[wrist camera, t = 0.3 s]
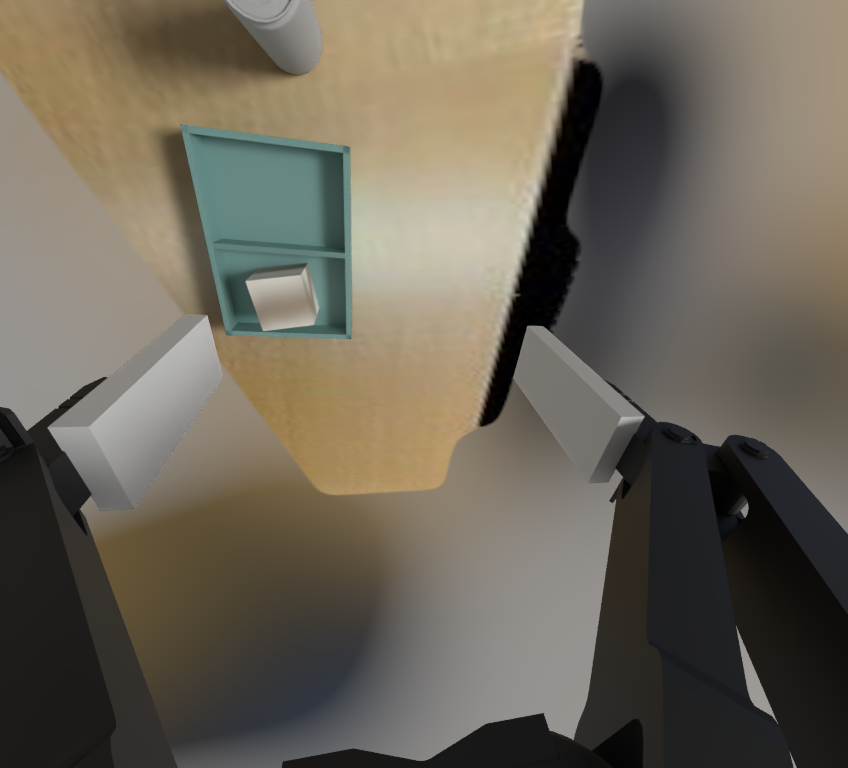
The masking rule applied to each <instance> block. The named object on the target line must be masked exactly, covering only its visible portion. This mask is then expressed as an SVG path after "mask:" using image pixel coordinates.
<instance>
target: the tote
mask: <svg viewBox="0 0 848 768" xmlns="http://www.w3.org/2000/svg"><path fill="white" fill-rule="evenodd" d="M180 126H181V130H182V135H183V140H184V144H185V149H186V153H187V158H188V162H189V167H190V171H191V176H192V180H193V185H194V190H195V194H196V199H197V203H198V208H199V212H200V217H201V221H202V226H203V231H204V235H205V240H206V244H207V249H208V253H209V258H210V262H211V267H212V272H213V276H214V281H215V285H216V290H217V294H218V299H219V303H220V308H221V313H222V317H223V322H224V326H225V331H226V335H237V336H270V337H302V338H334V339H351V334H352V270H351V164H350V147H348V146H341V145H333V144H326V143H318V142H310V141H303V140H295V139H288V138H280V137H273V136H265V135H257V134H250V133H242V132H235V131H227V130H219V129H212V128H204V127H197V126H189V125H182V124H180ZM302 263H308V265H309V269H310V273H311V277H312V281H313V285H314V289H315V293H316V297H317V301H318V305H319V310H318V314H317V317H316V320H315V323H314V325H310V326H301V327H293V328H285V329H277V330H269V331H263V329H262V327H261V324H260V321H259V318H258V315H257V313H256V310H255V307H254V304H253V301H252V299H251V296H250V293H249V290H248V287H247V285H246V282H245V281H246V280H247V279H248V278H249V277H250V276H251V275H252V274H253V273H255V272H256V271H257V270H258V269H259V268H264V267H273V266H283V265H292V264H302Z"/></svg>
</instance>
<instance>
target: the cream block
mask: <svg viewBox="0 0 848 768" xmlns="http://www.w3.org/2000/svg"><path fill="white" fill-rule="evenodd" d="M245 282H246V285H247V287H248V290H249V293H250V296H251V299H252V301H253V304H254V307H255V310H256V313H257V315H258V318H259V321H260V324H261V327H262V329H263V331H269V330H277V329H285V328H293V327H301V326H310V325H314V323H315V320H316V317H317V314H318V310H319V305H318V301H317V297H316V293H315V289H314V285H313V281H312V277H311V273H310V269H309V265H308V263H302V264H292V265H283V266H273V267H264V268H259V269H258V270H257V271H256V272H255V273H253V274H252V275H251V276H250V277H249V278H248V279H247V280H246V281H245Z"/></svg>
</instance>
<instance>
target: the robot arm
mask: <svg viewBox="0 0 848 768" xmlns="http://www.w3.org/2000/svg"><path fill="white" fill-rule="evenodd" d="M222 378H223V375H222V371H221V367H220V363H219V359H218V355H217V351H216V347H215V344H214V340H213V336H212V332H211V328H210V324H209V320H208V316H207V315H190V314H185V315H184V316H182V317H181V318H180V319H179V320H178V321H176V322H175V323H174V324H173V325H171V326H170V327H169V328H168V329H167V330H165V331H164V332H163V333H162V334H161V335H159V336H158V337H157V338H156V339H154V340H153V341H152V342H151V343H150V344H149V345H147V346H146V347H145V348H143V349H142V350H141V351H140V352H139V353H137V354H136V355H135V356H134V357H132V358H131V359H130V360H129V361H128V362H126V363H125V364H124V365H123V366H122V367H120V368H119V369H118V370H117V371H116V372H114V373H113V374H112V375H111V376H109V377H103V378H101V379H99V380H97V381H94V382H93V383H90V384H88V385H86V386H84V387H83V388H81V389H80V390H79V391H78V392H76V393H75V394H74V395H72V396H71V397H70V399H68V400H66V401H65V402H63V403H62V404H61V405H60V406H59V408H58V409H55V410H53V411H52V412H51V413H49V414H48V415H47V416H45V417H44V418H43V419H42V420H40V421H39V422H38V423H37V424H35V425H34V426H33V427H32V428H30V429H29V430H28V431H26V430H25V428H24V427H23V425H22V424H21V422H20V421H19V420H18V418H17V416H16V415H15V413H14V412H12V411H11V410H10V409H8V408H2V407H0V768H178V767H177V765H176V762H175V760H174V756H173V754H172V751H171V748H170V746H169V743H168V740H167V737H166V735H165V732H164V729H163V727H162V724H161V721H160V718H159V716H158V713H157V710H156V708H155V705H154V702H153V700H152V697H151V694H150V692H149V689H148V686H147V684H146V681H145V678H144V675H143V672H142V670H141V667H140V664H139V661H138V659H137V656H136V653H135V651H134V648H133V645H132V642H131V640H130V637H129V634H128V632H127V629H126V626H125V623H124V621H123V618H122V615H121V613H120V610H119V607H118V604H117V602H116V599H115V596H114V594H113V591H112V588H111V586H110V583H109V580H108V577H107V574H106V572H105V569H104V566H103V564H102V561H101V558H100V556H99V553H98V550H97V547H96V545H95V542H94V539H93V536H92V534H91V531H90V528H89V526H88V523H87V520H86V518H85V516H84V515H83V513H82V512H81V510H80V508H81V506H82V505H83V504H84V503H85V502H86V500H87V499H88V498H89V497H90V496H91V497H92V499H93V500H94V501H95V503H96V505H97V506H98V508H99V509H100V511H109V510H128V509H135V508H136V506H137V504H138V503H139V502H140V500H141V498H142V497H143V496H144V494H145V492H146V491H147V489H148V488H149V486H150V485H151V483H152V482H153V481H154V479H155V478H156V476H157V475H158V473H159V472H160V470H161V469H162V467H163V466H164V464H165V463H166V461H167V460H168V458H169V457H170V455H171V454H172V452H173V451H174V449H175V448H176V446H177V445H178V443H179V442H180V440H181V439H182V437H183V436H184V434H185V433H186V432H187V430H188V429H189V427H190V426H191V424H192V422H193V421H194V419H195V418H196V417H197V415H198V414H199V412H200V411H201V409H202V408H203V406H204V405H205V403H206V402H207V400H208V399H209V397H210V396H211V394H212V393H213V391H214V390H215V388H216V387H217V385H218V384H219V382H220V381H221V379H222ZM513 379H514V380H515V381H516V383H517V384H518V385H519V387H520V388H521V390H522V391H523V393H524V394H525V396H526V397H527V398H528V400H529V401H530V403H531V404H532V405H533V406H534V408H535V410H536V411H537V413H538V414H539V415H540V417H541V418H542V420H543V421H544V422H545V424H546V425H547V427H548V428H549V430H550V431H551V432H552V434H553V435H554V437H555V438H556V439H557V441H558V442H559V444H560V445H561V446H562V448H563V449H564V451H565V452H566V454H567V455H568V456H569V458H570V459H571V460H572V462H573V463H574V465H575V466H576V468H577V469H578V471H579V472H580V473H581V475H582V476H583V477H584V479H585V480H586V482H587V483H604V482H609V480H610V478H611V476H612V475H613V473H614V471H615V469H617V470H618V472H619V473H620V474H621V475H622V476H623V479H622V480H621V482H620V484H619V485H618V487H617V489H616V491H615V492H614V494H613V496H612V497H611V499H610V502H612V503H613V502H614V501H615V499H616V506H615V513H614V520H613V527H612V534H611V541H610V548H609V555H608V562H607V568H606V575H605V583H604V589H603V596H602V603H601V611H600V617H599V625H598V631H597V638H596V645H595V652H594V659H593V666H592V673H591V680H590V687H589V693H588V699H587V702H586V705H585V708H584V711H583V713H582V715H581V718H580V720H579V723H578V726H577V729H576V733H575V737H574V740H572V739H570V738H568V737H566V736H563V735H561V734H558V733H555V732H553V731H549V728H548V725H547V722H546V719H545V716H544V713H542V714H536V715H531V716H526V717H520V718H515V719H510V720H504V721H499V722H493V723H488V724H485V725H483V726H482V727H480V728H479V729H477V730H476V731H474V732H472V733H471V734H469V735H468V736H466V737H464V738H463V739H461V740H460V741H458V742H456V743H455V744H453V745H452V746H450V747H448V748H447V749H445V750H444V751H442V752H440V753H439V754H437V755H436V756H434V757H432V758H431V759H429V760H426V761H416V760H410V759H406V758H400V757H395V756H390V755H385V754H379V753H374V752H369V751H364V750H359V749H348V750H343V751H337V752H332V753H327V754H322V755H316V756H311V757H306V758H300V759H295V760H289V761H284V762H283V764H282V768H793V764H792V760H791V756H790V753H791V755H792V758H793V760H794V762H795V764H796V767H797V768H848V534H847V533H846V532H845V531H844V529H843V528H842V527H841V526H840V525H839V523H838V522H837V521H836V520H835V519H834V518H833V517H832V515H831V514H830V513H829V512H828V511H827V510H826V509H825V507H824V506H823V505H822V504H821V503H820V501H819V500H818V499H817V498H816V497H815V496H814V494H813V493H812V492H811V491H810V490H809V489H808V488H807V486H806V485H805V484H804V483H803V482H802V481H801V479H800V478H799V477H798V476H797V475H796V474H795V472H794V471H793V470H792V469H791V468H790V467H789V466H788V464H787V463H786V462H785V461H784V460H783V458H781V456H780V455H778V453H776V452H775V451H774V450H773V449H771V448H770V447H768V446H766V444H764V443H762V442H760V441H759V442H758V440H756V439H753V438H748V437H745V436H739V435H731V436H728V438H727V439H726V440H725V442H724V443H723V444H722V446H721V447H719V446H713V445H708V444H703V443H702V441H701V440H700V439H699V438H698V437H697V436H696V435H695V434H694V433H692V432H690V431H689V430H687V429H685V428H683V427H681V426H678V425H675V424H672V423H668V422H658V423H657V422H656V421H655V420H654V419H653V418H652V417H650V416H649V415H648V414H647V413H646V412H645V411H643V410H642V409H641V408H640V407H639V406H638V405H637V404H636V403H634V402H632V400H631V399H630V398H629V397H628V396H626V395H624V393H623V392H622V391H621V390H619V389H618V388H617V387H616V386H615V385H613V384H611V383H610V382H608V381H606V380H604V379H602V378H601V377H600V376H598V375H597V374H596V373H595V372H594V371H593V370H592V369H591V368H590V367H588V366H587V365H586V364H585V363H584V362H583V361H581V359H579V358H578V357H577V356H576V355H575V354H574V353H573V352H572V351H570V350H569V349H568V348H567V347H566V346H565V345H564V344H562V343H561V342H560V341H559V340H558V339H557V338H556V337H555V336H554V335H552V334H551V333H550V332H549V331H548V330H547V329H546V328H544V327H543V326H527V330H526V334H525V337H524V341H523V345H522V348H521V352H520V356H519V359H518V363H517V366H516V370H515V374H514V377H513ZM747 503H748V505H749V510H748V514H747V516H746V518H745V517H744V516H743V514H742V513H741V509H742V508H743V507H744V506H745V505H746V504H747ZM736 626H737V629H738V631H739V633H740V636H741V638H742V640H743V643H744V645H745V647H746V650H747V652H748V654H749V657H750V659H751V661H752V664H753V666H754V668H755V670H756V673H757V675H758V678H759V680H760V683H761V685H762V687H763V689H764V692H765V694H766V697H767V699H768V701H769V703H770V706H771V708H772V711H773V713H774V715H775V718H776V720H777V722H778V724H777V722H776V721H775V720H774V718H773V717H772V716H771V715H769V714H767V713H766V712H764V711H762V710H760V709H759V708H757V707H755V706H754V704H753V703H752V701H751V700H750V697H749V693H748V690H747V685H746V679H745V674H744V668H743V662H742V657H741V652H740V646H739V640H738V635H737V629H736Z"/></svg>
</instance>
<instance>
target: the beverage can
mask: <svg viewBox="0 0 848 768" xmlns="http://www.w3.org/2000/svg"><path fill="white" fill-rule="evenodd" d="M223 1H224V2H225V4H226V5H227V7H228V8H229V9H230V10H231V11H232V13H233V14H234V15H235V16H236V17H237V19H238V20H239V21H240V22H241V23H242V25H243V26H244V27H245V28H246V29H247V31H248V32H249V33H250V34H251V35H252V37H253V38H254V39H255V40H256V41H257V43H258V44H259V45H260V46H261V47H262V49H263V50H264V51H265V52H266V53H267V54H268V56H269V57H270V58H271V59H272V60H273V61H274V63H275V64H276V65H277V66H278V67H280V68H281V69H283V70H284V71H286V72H288V73H291V74H297V75H301V74H305V73H308V72H309V71H311V70H312V69H313V68H314V67H315V66H316V64H317V63H318V62H319V59H320V56H321V53H322V45H323V40H322V32H321V28H320V25H319V22H318V19H317V15H316V12H315V9H314V5H313V2H312V0H223Z"/></svg>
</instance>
